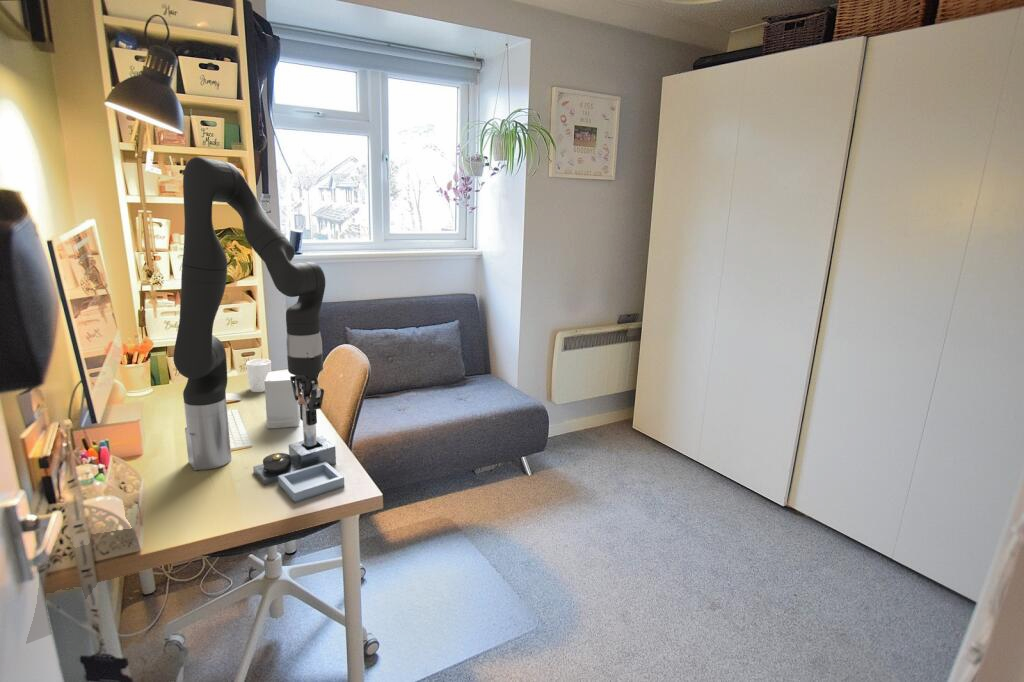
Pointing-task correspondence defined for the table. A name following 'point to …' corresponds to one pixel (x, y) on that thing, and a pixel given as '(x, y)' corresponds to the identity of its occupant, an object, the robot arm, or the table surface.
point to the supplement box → (281, 401)
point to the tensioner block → (295, 459)
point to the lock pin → (308, 427)
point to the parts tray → (310, 481)
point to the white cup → (258, 373)
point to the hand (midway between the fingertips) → (308, 421)
